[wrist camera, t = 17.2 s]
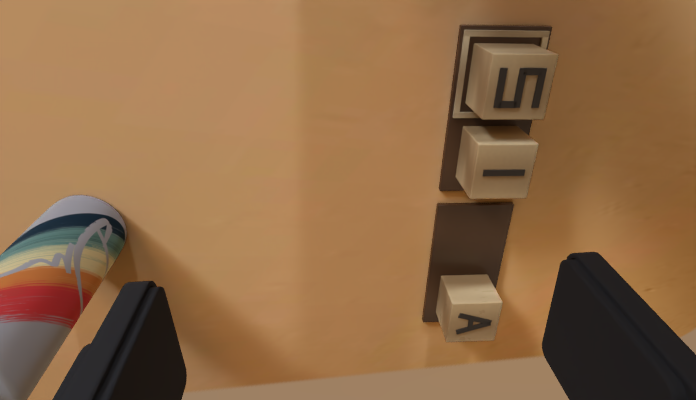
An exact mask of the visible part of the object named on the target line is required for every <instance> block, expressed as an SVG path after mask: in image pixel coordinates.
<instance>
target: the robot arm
mask: <svg viewBox="0 0 696 400" xmlns="http://www.w3.org/2000/svg"><path fill="white" fill-rule="evenodd" d="M542 349H543V353H544V356H545V358H546V360H547V362H548V364H549V365H550V367H551V369H552V370H553V372H554V374H555V376H556V377H557V379H558V381H559V383H560V384H561V386H562V388H563V390H564V391H565V393H566V395H567V396H568V398H569V400H696V355H695V353H694V352H693V351H692V350H691V349H690V348H689V347H688V346H687V345H686V344H685V343H684V342H683V341H682V340H681V339H680V338H679V337H678V336H677V335H676V334H675V333H674V331H673V330H672V329H671V328H670V327H669V326H668V325H667V324H666V323H665V322H664V321H663V320H662V319H661V318H660V317H659V316H658V315H657V314H656V313H655V312H654V311H653V310H652V308H651V307H650V306H649V305H648V304H647V303H646V302H645V301H644V300H643V299H642V298H641V297H640V296H639V295H638V294H637V293H636V292H635V291H634V290H633V289H632V288H631V286H630V285H629V284H628V283H627V282H626V281H625V280H624V279H623V278H622V277H621V276H620V275H619V274H618V273H617V272H616V271H615V270H614V269H613V268H612V267H611V266H610V265H609V263H608V262H607V261H606V260H605V259H604V258H603V257H602V256H601V255H600V254H598V253H597V252H585V253H572V254H570V255H569V256H568V257H567V260H563V261H562V262H561V264H560V268H559V272H558V276H557V281H556V285H555V289H554V294H553V298H552V302H551V307H550V311H549V315H548V320H547V324H546V328H545V333H544V337H543V341H542ZM186 376H187V374H186V367H185V363H184V360H183V356H182V352H181V349H180V345H179V341H178V338H177V334H176V330H175V327H174V323H173V319H172V316H171V312H170V308H169V305H168V301H167V297H166V294H165V290H164V288H163V287H157V286H156V284H155V283H154V282H153V281H142V282H128V283H126V284H125V285H124V286H123V288H122V289H121V291H120V293H119V295H118V296H117V298H116V300H115V302H114V304H113V305H112V307H111V309H110V311H109V313H108V314H107V316H106V318H105V320H104V321H103V323H102V325H101V327H100V329H99V330H98V332H97V334H96V336H95V338H94V339H93V341H92V343H91V344H88V345H86V346H85V347H84V348H83V349H82V350H81V352H80V353H79V355H78V356H77V358H76V360H75V361H74V363H73V365H72V367H71V368H70V370H69V372H68V374H67V375H66V377H65V379H64V381H63V382H62V384H61V386H60V388H59V389H58V391H57V393H56V394H55V396H54V398H53V400H181V399H182V396H183V392H184V389H185V385H186Z"/></svg>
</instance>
